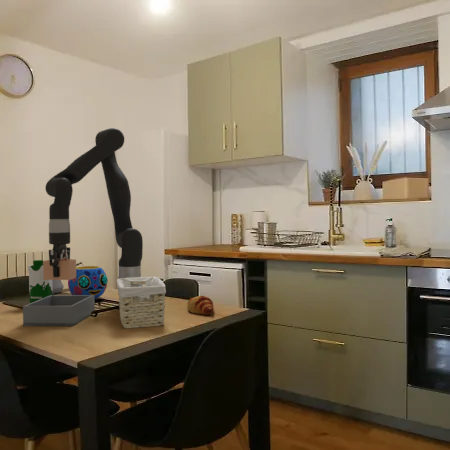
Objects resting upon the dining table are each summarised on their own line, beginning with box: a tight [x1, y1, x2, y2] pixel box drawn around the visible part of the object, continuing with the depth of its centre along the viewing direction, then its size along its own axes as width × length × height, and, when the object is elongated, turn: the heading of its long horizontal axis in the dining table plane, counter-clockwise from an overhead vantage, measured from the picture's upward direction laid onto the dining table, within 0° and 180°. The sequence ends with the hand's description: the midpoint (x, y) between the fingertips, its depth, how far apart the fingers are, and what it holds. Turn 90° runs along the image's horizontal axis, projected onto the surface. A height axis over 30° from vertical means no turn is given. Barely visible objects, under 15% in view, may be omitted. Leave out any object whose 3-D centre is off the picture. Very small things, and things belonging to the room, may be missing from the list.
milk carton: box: [27, 259, 54, 304], centre depth 195 cm, size 9×9×20 cm
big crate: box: [22, 294, 96, 327], centre depth 170 cm, size 18×22×7 cm
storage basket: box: [116, 276, 167, 329], centre depth 165 cm, size 24×16×15 cm
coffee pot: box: [52, 261, 84, 295], centre depth 230 cm, size 21×12×15 cm, turn 113°
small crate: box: [43, 258, 77, 281], centre depth 170 cm, size 10×6×7 cm, turn 87°
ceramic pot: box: [67, 265, 108, 300], centre depth 209 cm, size 18×18×15 cm
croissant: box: [186, 295, 215, 316], centre depth 181 cm, size 21×10×8 cm, turn 27°
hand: (60, 275), depth 170 cm, fingers closed on small crate, 6 cm apart
